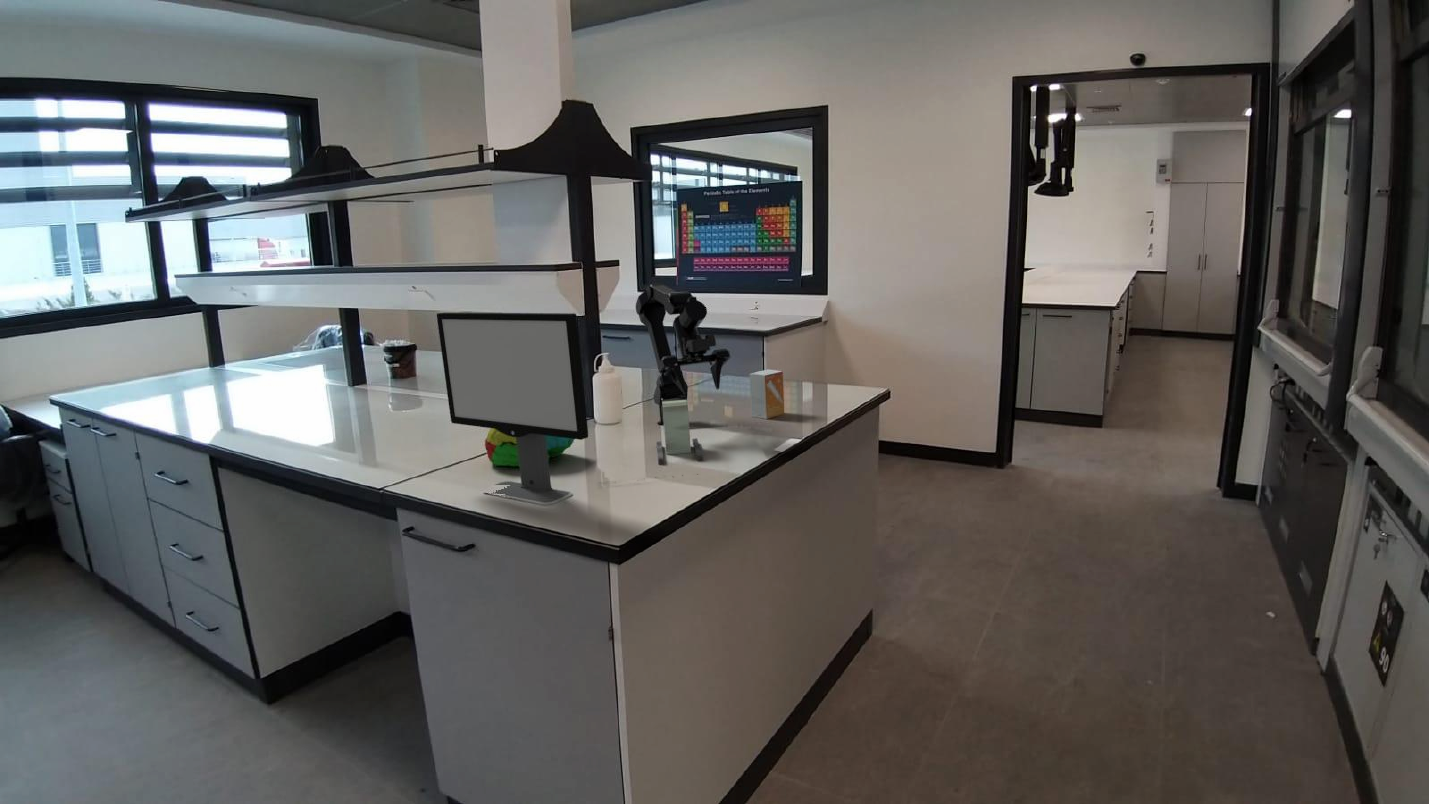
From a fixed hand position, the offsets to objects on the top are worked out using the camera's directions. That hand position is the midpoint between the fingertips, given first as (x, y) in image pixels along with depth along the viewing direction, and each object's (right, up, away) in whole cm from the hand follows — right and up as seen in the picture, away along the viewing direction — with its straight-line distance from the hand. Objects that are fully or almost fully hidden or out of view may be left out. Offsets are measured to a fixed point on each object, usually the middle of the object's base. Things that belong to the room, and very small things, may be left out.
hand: (701, 391), depth 203 cm
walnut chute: (-5, -17, -11) cm, 21 cm away
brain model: (-43, -18, -4) cm, 46 cm away
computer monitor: (-38, -23, -30) cm, 54 cm away
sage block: (-6, -15, -8) cm, 18 cm away
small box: (+19, -7, +28) cm, 35 cm away
